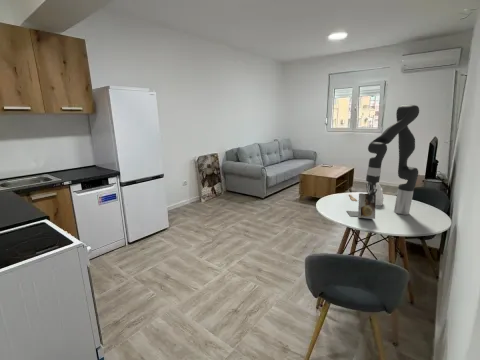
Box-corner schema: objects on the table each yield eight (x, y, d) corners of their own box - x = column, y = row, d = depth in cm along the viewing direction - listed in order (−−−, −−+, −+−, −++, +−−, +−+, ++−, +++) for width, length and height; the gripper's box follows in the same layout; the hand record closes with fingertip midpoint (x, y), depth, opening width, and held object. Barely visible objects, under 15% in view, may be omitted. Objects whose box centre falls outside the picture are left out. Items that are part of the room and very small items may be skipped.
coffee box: (372, 218, 173) (373, 194, 174) (375, 219, 166) (376, 194, 168) (357, 217, 175) (358, 193, 176) (360, 217, 168) (361, 192, 170)
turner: (347, 195, 223) (347, 194, 223) (352, 195, 223) (352, 194, 223) (352, 201, 209) (352, 200, 209) (357, 201, 208) (357, 200, 208)
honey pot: (361, 201, 209) (364, 179, 204) (372, 199, 214) (375, 178, 210) (375, 206, 198) (378, 183, 193) (386, 204, 203) (390, 181, 199)
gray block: (346, 211, 185) (346, 210, 185) (369, 212, 183) (369, 212, 183) (350, 216, 176) (350, 215, 175) (375, 218, 174) (375, 217, 173)
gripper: (363, 171, 170) (360, 197, 174) (370, 176, 157) (366, 203, 161) (375, 172, 169) (371, 197, 173) (384, 176, 156) (379, 204, 160)
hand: (369, 200), depth 167 cm, fingers closed
